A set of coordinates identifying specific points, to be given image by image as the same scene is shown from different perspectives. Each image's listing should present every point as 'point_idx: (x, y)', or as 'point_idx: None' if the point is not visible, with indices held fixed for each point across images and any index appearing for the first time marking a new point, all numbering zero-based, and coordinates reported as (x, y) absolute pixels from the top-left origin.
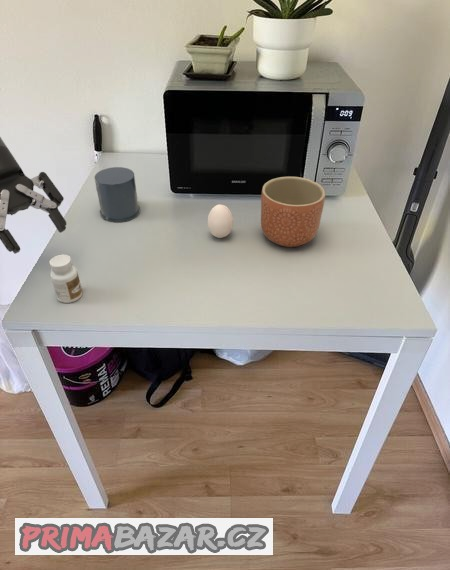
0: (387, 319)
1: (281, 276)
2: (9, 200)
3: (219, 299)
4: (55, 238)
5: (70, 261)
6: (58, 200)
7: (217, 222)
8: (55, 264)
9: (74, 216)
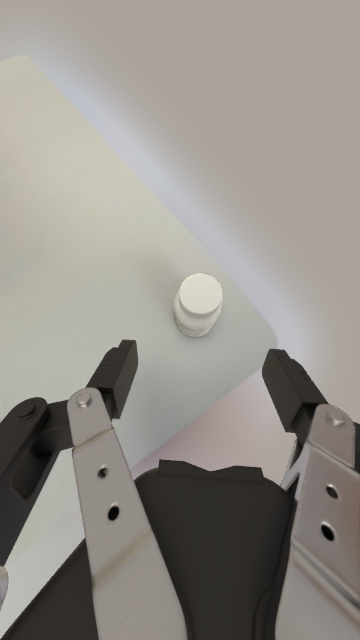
0: (31, 72)
1: (12, 154)
2: (266, 558)
3: (86, 178)
4: None
5: (187, 277)
6: (45, 406)
7: None
8: (215, 287)
9: None
